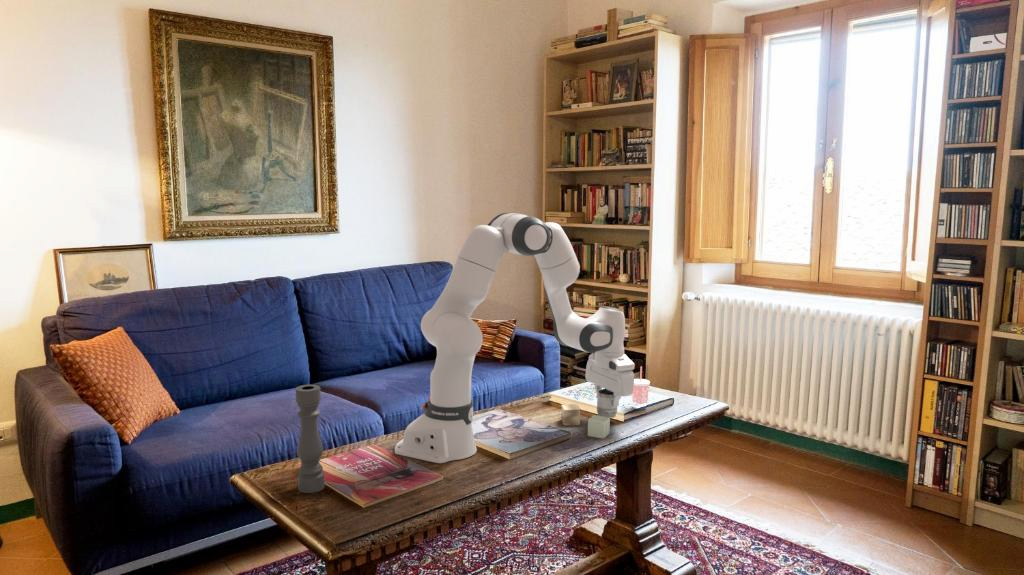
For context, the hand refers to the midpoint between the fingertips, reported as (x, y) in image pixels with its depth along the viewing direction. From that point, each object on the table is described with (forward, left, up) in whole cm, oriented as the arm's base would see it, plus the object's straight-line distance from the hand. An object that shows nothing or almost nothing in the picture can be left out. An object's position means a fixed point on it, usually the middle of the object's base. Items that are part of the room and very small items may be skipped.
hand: (607, 402), depth 223 cm
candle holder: (-62, -69, -7) cm, 93 cm away
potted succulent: (0, 0, -4) cm, 4 cm away
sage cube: (-1, -12, -6) cm, 13 cm away
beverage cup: (+8, +17, -7) cm, 20 cm away
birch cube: (-11, -4, -6) cm, 13 cm away
